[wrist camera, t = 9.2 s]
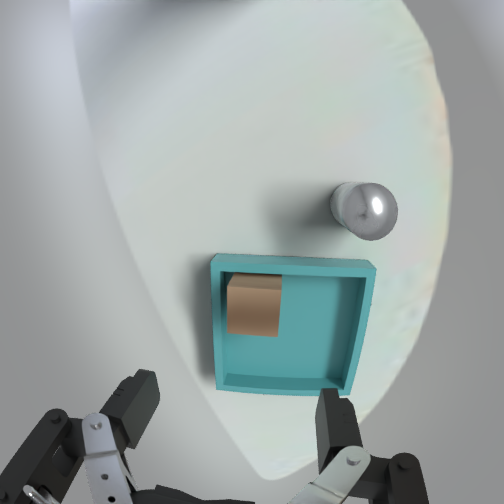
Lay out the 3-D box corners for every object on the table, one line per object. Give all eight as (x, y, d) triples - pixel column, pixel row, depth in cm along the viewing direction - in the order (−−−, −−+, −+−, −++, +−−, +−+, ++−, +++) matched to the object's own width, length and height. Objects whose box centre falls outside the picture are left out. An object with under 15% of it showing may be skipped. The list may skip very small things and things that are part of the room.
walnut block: (237, 266, 26) (227, 286, 21) (281, 269, 26) (281, 290, 21) (236, 306, 27) (227, 333, 22) (279, 310, 27) (277, 337, 22)
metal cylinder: (331, 180, 24) (346, 180, 18) (373, 184, 23) (399, 185, 18) (329, 225, 25) (342, 239, 19) (371, 228, 24) (394, 242, 19)
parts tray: (217, 253, 26) (210, 261, 24) (367, 260, 25) (376, 268, 22) (221, 374, 30) (216, 389, 27) (345, 379, 29) (349, 395, 26)
